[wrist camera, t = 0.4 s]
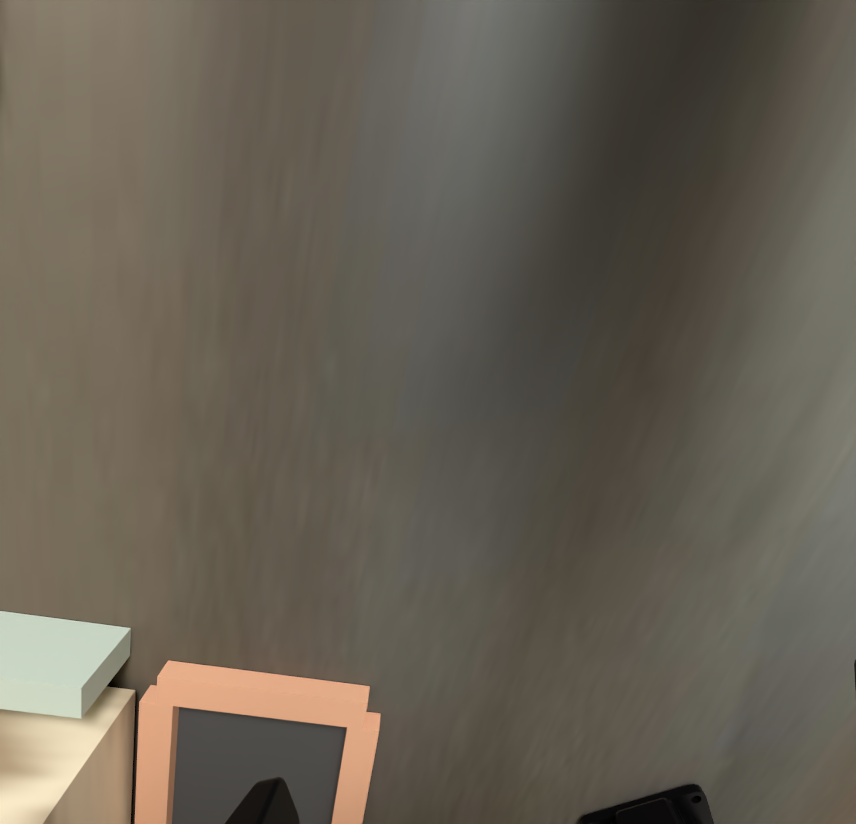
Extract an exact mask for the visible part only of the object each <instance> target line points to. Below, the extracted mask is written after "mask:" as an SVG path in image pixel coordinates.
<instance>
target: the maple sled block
mask: <svg viewBox="0 0 856 824" xmlns="http://www.w3.org/2000/svg"><path fill="white" fill-rule="evenodd" d="M134 717H135V690H130V689H122V688H114V687H105V689H104V690H103V691H102V693H101V694H100V695H99V696H98V698H97V699H96V700H95V702H94V703H93V704H92V706H91V707H90V708H89V709H88V711H87V712H86V713H85V715H84V716H83V717H82V718H81V719H80V718H71V717H63V716H55V715H46V714H38V713H30V712H21V711H13V710H5V709H0V824H131V801H132V773H133V745H134Z"/></svg>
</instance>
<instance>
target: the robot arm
mask: <svg viewBox="0 0 856 824" xmlns="http://www.w3.org/2000/svg"><path fill="white" fill-rule="evenodd" d="M854 668H855V688H856V660H855V663H854ZM224 824H300V821H299V816H298V812H297V810H296V807H295V804H294V802H293V799H292V797H291V794H290V791H289V789H288V786H287V784H286V782H285V780H284V779H283V778H282V777H275V778H270V779H265V780H261V781H258V782H257V783H256V784H254V785H253V787H252V788H251V789H250V790H249V792H248V793H247V794H246V796H245V797H244V798H243V799H242V801H241V802H240V803H239V805H238V806H237V807H236V809H235V810H234V811H233V812H232V814H231V815H230V816H229V818H228V819H227V820H226V821H225V823H224ZM580 824H714V822H713V819H712V816H711V812H710V809H709V805H708V802H707V799H706V796H705V794H704V792H703V791H702V789H701V787H700V786H698V785H696V784H692V785H687V786H684V787H681V788H677V789H674V790H671V791H667V792H664V793H660V794H657V795H654V796H650V797H647V798H644V799H640V800H637V801H633V802H630V803H627V804H623V805H620V806H617V807H613V808H610V809H606V810H603V811H600V812H596V813H593V814H590V815H586V816H584V817H583V818H582V819H581V821H580Z"/></svg>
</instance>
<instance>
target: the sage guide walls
mask: <svg viewBox="0 0 856 824" xmlns="http://www.w3.org/2000/svg"><path fill="white" fill-rule="evenodd" d="M130 644H131V628H126V627H118V626H111V625H103V624H96V623H88V622H80V621H73V620H65V619H57V618H50V617H42V616H35V615H27V614H19V613H12V612H4V611H0V709H5V710H13V711H21V712H30V713H38V714H46V715H55V716H63V717H71V718H80V719H81V718H82V717H83V716H84V715H85V713H86V712H87V711H88V709H89V708H90V707H91V706H92V704H93V703H94V702H95V700H96V699H97V698H98V696H99V695H100V694H101V693H102V691H103V690H104V689H105V687H106V686H107V685H108V684H109V682H110V681H111V680H112V678H113V677H114V676H115V674H116V673H117V672H118V671H119V669H120V668H121V667H122V665H123V664H124V663H125V662H126V660H127V659H128V658H129V656H130Z"/></svg>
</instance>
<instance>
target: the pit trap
mask: <svg viewBox="0 0 856 824" xmlns="http://www.w3.org/2000/svg"><path fill="white" fill-rule="evenodd" d="M369 688H370V686H364V685H356V684H348V683H340V682H332V681H325V680H317V679H309V678H301V677H293V676H285V675H278V674H270V673H262V672H254V671H246V670H239V669H231V668H223V667H215V666H207V665H199V664H192V663H184V662H176V661H168V662H167V663H166V665H165V666H164V668H163V669H162V671H161V672H160V674H159V675H158V677H157V686H156V685H150V687H149V688H148V690H147V691H146V693H145V694H144V696H143V697H142V699H141V700H140V702H139V725H138V751H137V777H136V803H135V824H224V823H225V821H226V820H227V819H228V818H229V816H230V815H231V814H232V812H233V811H234V810H235V809H236V807H237V806H238V805H239V803H240V802H241V801H242V799H243V798H244V797H245V796H246V794H247V793H248V792H249V790H250V789H251V788H252V787H253V785H254V784H256V783H257V782H258V781H261V780H265V779H270V778H275V777H282V778H283V779H284V780H285V782H286V784H287V786H288V789H289V791H290V794H291V797H292V799H293V802H294V804H295V807H296V810H297V812H298V816H299V821H300V824H362V822H363V817H364V811H365V806H366V800H367V795H368V789H369V784H370V778H371V773H372V767H373V762H374V757H375V751H376V746H377V740H378V735H379V727H380V715H381V714H380V713H372V712H366V710H367V704H368V697H369Z"/></svg>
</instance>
